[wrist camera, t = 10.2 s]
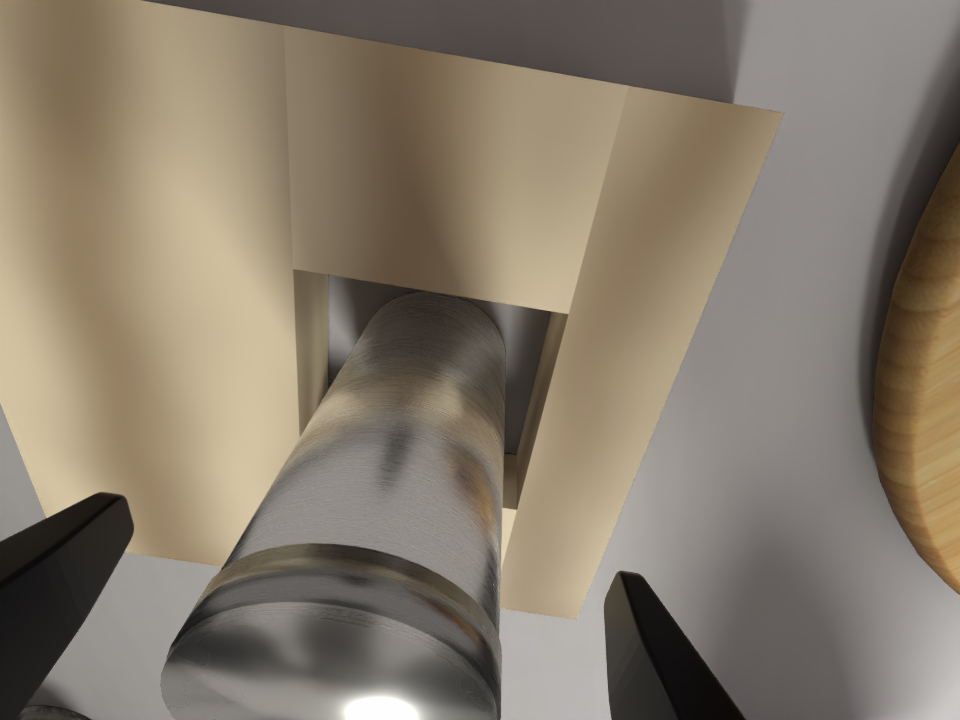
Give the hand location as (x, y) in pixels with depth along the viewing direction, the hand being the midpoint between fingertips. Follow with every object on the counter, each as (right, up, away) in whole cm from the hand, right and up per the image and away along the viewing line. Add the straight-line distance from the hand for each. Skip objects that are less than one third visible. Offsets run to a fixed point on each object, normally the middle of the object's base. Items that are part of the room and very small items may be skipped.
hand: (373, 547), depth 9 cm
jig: (-2, +4, +6) cm, 8 cm away
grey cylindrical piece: (0, +3, +6) cm, 7 cm away
